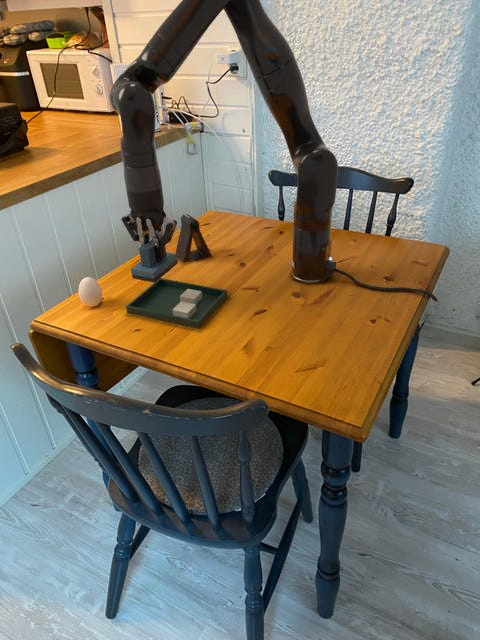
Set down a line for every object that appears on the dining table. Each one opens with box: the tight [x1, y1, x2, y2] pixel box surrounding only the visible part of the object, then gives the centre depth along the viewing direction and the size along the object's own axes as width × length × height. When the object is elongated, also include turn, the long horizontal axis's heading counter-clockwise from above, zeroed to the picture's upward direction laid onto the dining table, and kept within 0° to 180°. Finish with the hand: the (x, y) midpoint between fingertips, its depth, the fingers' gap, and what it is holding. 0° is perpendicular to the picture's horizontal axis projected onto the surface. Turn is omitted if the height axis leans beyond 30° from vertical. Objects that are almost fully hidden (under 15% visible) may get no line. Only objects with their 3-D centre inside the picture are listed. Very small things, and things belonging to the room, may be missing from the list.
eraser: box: [130, 238, 179, 283], centre depth 108 cm, size 6×10×7 cm, turn 156°
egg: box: [78, 276, 103, 308], centre depth 113 cm, size 5×5×8 cm
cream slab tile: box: [173, 302, 196, 319], centre depth 109 cm, size 4×4×2 cm
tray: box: [125, 277, 229, 330], centre depth 112 cm, size 19×15×2 cm
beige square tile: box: [180, 289, 202, 304], centre depth 114 cm, size 4×4×2 cm
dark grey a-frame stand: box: [175, 213, 212, 263], centre depth 133 cm, size 9×6×12 cm, turn 120°
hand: (154, 258), depth 109 cm, fingers closed on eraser, 2 cm apart
